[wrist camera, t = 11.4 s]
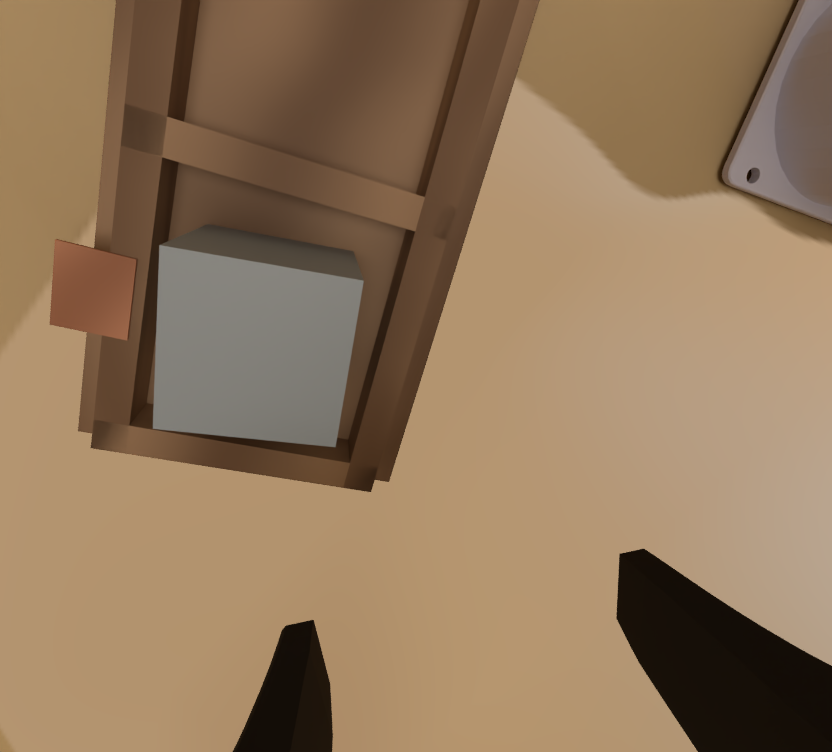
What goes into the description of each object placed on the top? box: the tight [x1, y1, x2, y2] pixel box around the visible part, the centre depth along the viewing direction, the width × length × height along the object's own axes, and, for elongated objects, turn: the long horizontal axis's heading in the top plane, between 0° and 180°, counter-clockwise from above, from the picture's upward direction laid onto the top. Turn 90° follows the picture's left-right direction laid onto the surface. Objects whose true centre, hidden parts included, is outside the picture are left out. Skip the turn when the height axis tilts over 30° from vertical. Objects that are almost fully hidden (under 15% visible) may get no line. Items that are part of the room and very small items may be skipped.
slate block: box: [153, 224, 364, 447], centre depth 15 cm, size 4×4×5 cm
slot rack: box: [50, 0, 539, 492], centre depth 15 cm, size 11×20×3 cm, turn 163°
